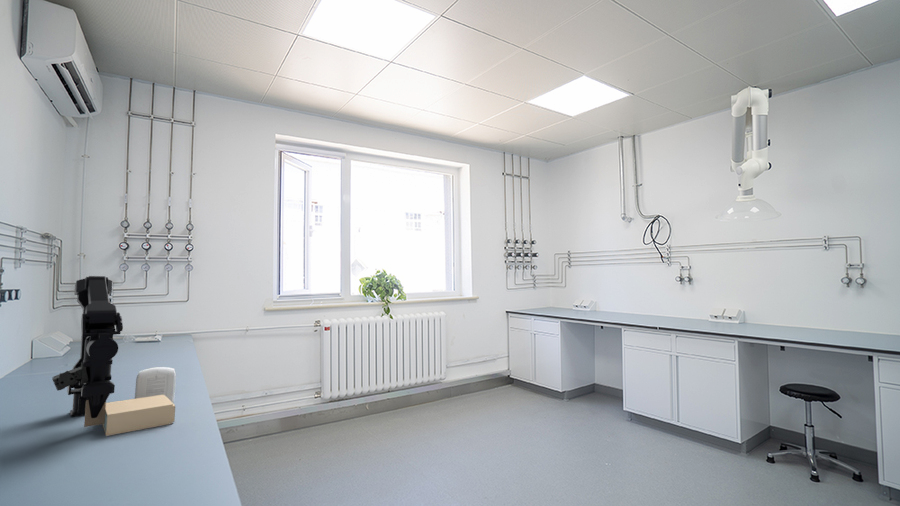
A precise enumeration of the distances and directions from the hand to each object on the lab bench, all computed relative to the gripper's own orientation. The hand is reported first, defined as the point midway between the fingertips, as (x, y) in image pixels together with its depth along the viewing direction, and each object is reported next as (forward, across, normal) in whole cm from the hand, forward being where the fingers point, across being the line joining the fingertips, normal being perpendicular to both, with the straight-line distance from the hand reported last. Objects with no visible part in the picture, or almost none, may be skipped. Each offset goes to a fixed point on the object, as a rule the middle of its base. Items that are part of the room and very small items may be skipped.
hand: (93, 417), depth 109 cm
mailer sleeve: (+4, 0, +9) cm, 10 cm away
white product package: (+4, -14, +15) cm, 21 cm away
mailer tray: (+3, 0, +7) cm, 8 cm away
